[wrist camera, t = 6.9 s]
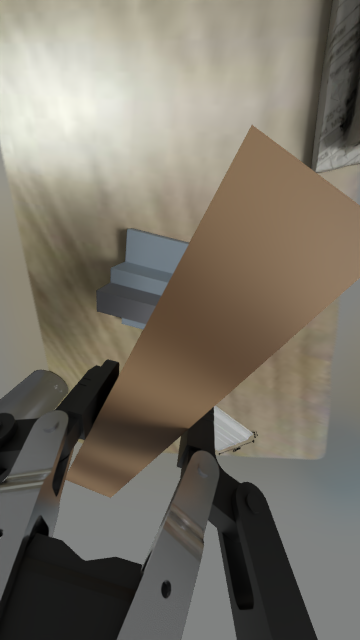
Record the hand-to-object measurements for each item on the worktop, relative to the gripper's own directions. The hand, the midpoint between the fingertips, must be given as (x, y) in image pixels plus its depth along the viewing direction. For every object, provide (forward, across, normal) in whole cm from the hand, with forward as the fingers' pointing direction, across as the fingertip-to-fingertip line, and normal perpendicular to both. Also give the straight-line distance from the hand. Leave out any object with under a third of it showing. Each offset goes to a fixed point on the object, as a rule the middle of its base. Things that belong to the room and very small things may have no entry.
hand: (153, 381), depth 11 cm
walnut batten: (+1, 0, 0) cm, 1 cm away
